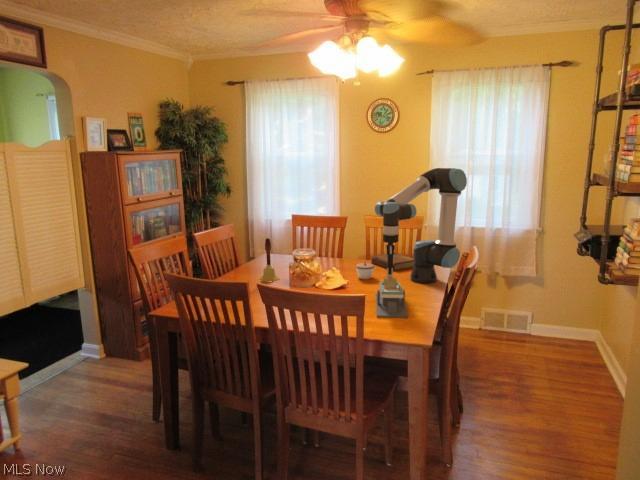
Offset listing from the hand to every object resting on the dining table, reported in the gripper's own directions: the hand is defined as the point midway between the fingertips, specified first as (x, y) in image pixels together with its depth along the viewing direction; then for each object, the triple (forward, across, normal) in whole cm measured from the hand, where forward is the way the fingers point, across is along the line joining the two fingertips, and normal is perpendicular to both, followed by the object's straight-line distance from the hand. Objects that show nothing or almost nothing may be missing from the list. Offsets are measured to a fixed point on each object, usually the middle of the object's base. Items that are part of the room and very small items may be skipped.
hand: (389, 279), depth 229 cm
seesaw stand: (+11, +7, 0) cm, 13 cm away
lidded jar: (+12, -42, -13) cm, 45 cm away
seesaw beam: (+4, +7, 0) cm, 8 cm away
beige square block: (+3, +4, 0) cm, 5 cm away
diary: (+13, -72, +5) cm, 73 cm away
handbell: (+13, -35, -70) cm, 79 cm away
